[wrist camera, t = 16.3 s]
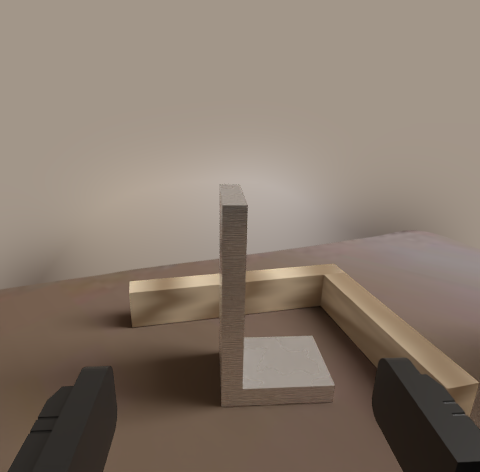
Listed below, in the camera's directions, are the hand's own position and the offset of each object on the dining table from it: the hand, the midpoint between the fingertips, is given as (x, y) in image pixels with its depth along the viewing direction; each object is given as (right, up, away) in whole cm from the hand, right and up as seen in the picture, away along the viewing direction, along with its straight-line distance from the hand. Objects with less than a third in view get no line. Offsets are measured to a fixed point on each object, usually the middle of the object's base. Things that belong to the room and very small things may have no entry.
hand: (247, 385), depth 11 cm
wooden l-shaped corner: (+2, -4, +14) cm, 15 cm away
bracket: (+2, -5, +13) cm, 14 cm away
